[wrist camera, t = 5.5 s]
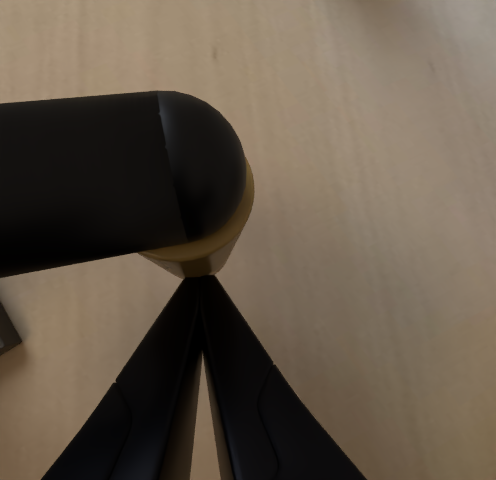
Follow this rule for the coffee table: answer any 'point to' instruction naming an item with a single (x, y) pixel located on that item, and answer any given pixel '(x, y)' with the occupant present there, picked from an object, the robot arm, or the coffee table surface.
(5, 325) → the tap column
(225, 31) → the coffee table surface
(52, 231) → the spout
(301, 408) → the robot arm
